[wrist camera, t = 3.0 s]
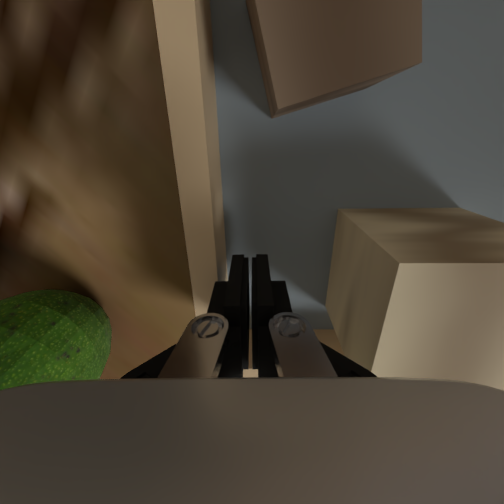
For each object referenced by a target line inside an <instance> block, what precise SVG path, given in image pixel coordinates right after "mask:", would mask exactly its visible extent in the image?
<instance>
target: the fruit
mask: <svg viewBox="0 0 504 504" xmlns="http://www.w3.org/2000/svg"><path fill="white" fill-rule="evenodd" d="M111 331H112V330H111V325H110V321H109V317H108V316H107V314H106V313H105V312H104V310H103V309H102V307H101V306H99V305H98V304H97V303H96V302H94V301H93V300H92V299H90V298H88V297H85V296H83V295H80V294H77V293H75V292H69V291H63V290H50V289H46V290H37V291H30V292H26V293H22V294H19V295H16V296H12V297H9V298H6V299H3V300H0V390H3V389H6V388H11V387H16V386H21V385H26V384H32V383H41V382H49V381H68V380H88V379H99V378H100V376H101V374H102V372H103V369H104V367H105V364H106V361H107V359H108V356H109V354H110V348H111Z"/></svg>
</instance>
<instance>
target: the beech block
mask: <svg viewBox="0 0 504 504" xmlns="http://www.w3.org/2000/svg"><path fill="white" fill-rule="evenodd" d="M325 307H326V309H327V312H328V315H329V317H330V320H331V322H332V325H333V327H334V330H335V332H336V335H337V337H338V340H339V342H340V345H341V347H342V350H343V352H344V355H345V356H346V357H347V358H349V359H351V360H352V361H354V362H356V363H357V364H359V365H361V366H362V367H364V368H366V369H368V370H369V371H371V372H372V373H373V374H375V375H376V376H377V377H407V378H435V379H449V380H458V381H466V382H471V383H476V384H482V385H487V386H490V387H494V388H497V389H501V390H504V223H503V222H500V221H497V220H494V219H491V218H488V217H485V216H483V215H480V214H477V213H474V212H471V211H468V210H465V209H462V208H368V209H338V213H337V221H336V228H335V236H334V243H333V251H332V258H331V266H330V274H329V281H328V289H327V296H326V304H325Z"/></svg>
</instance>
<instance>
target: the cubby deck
mask: <svg viewBox="0 0 504 504" xmlns="http://www.w3.org/2000/svg"><path fill="white" fill-rule="evenodd" d="M153 7H154V14H155V22H156V29H157V36H158V44H159V51H160V58H161V66H162V73H163V80H164V88H165V95H166V102H167V110H168V117H169V124H170V131H171V139H172V146H173V153H174V161H175V168H176V175H177V183H178V190H179V197H180V205H181V212H182V219H183V227H184V234H185V241H186V249H187V256H188V263H189V270H190V278H191V285H192V292H193V300H194V307H195V314H196V317H197V316H199V315H201V314H206V313H207V310H208V306H209V303H210V299H211V295H212V291H213V288H214V284H215V281H228V277H229V272H230V266H231V260H232V255H236V254H244V257H249V297H250V321H249V369H243V377H258V369H252V318H251V285H252V257H256V254H268V261H269V269H270V277H271V281H285V282H286V286H287V290H288V295H289V299H290V304H291V308H292V312H293V313H296V314H299V315H301V316H303V317H304V318H306V319H307V321H308V322H309V323H310V325H311V327H312V329H313V331H314V332H315V334H316V336H317V338H318V340H319V341H320V342H322V343H324V344H325V345H327V346H329V347H330V348H332V349H334V350H335V351H337V352H339V353H340V354H342V355H344V352H343V350H342V347H341V345H340V342H339V340H338V337H337V335H336V332H335V330H334V327H333V325H332V322H331V320H330V317H329V315H328V312H327V309H326V307H325V304H326V296H327V289H328V281H329V274H330V266H331V258H332V251H333V243H334V236H335V228H336V221H337V213H338V209H368V208H462V209H465V210H468V211H471V212H474V213H477V214H480V215H483V216H485V217H488V218H491V219H494V220H497V221H500V222H503V223H504V0H422V63H420V64H418V65H415V66H413V67H411V68H409V69H407V70H405V71H403V72H400V73H398V74H396V75H394V76H392V77H390V78H388V79H385V80H383V81H381V82H379V83H377V84H375V85H372V86H370V87H368V88H366V89H364V90H360V91H357V92H354V93H351V94H348V95H345V96H342V97H339V98H335V99H332V100H329V101H326V102H323V103H320V104H317V105H314V106H310V107H307V108H304V109H301V110H298V111H295V112H292V113H289V114H285V115H282V116H279V117H276V118H273V119H272V118H271V114H270V109H269V105H268V100H267V96H266V91H265V87H264V82H263V78H262V73H261V69H260V64H259V60H258V55H257V51H256V46H255V42H254V37H253V33H252V28H251V24H250V19H249V15H248V10H247V6H246V0H153ZM344 356H345V355H344Z"/></svg>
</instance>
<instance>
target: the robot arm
mask: <svg viewBox="0 0 504 504" xmlns="http://www.w3.org/2000/svg"><path fill="white" fill-rule="evenodd" d="M251 318H252V369H258V377H243V369H249V321H250V297H249V257H244V254H236V255H232V260H231V266H230V272H229V277H228V281H215V284H214V288H213V291H212V295H211V299H210V303H209V306H208V310H207V313H206V314H201V315H199V316H197V317H195V318H194V319H192V320H191V321H190V322H189V324H188V325H187V327H186V329H185V330H184V332H183V334H182V336H181V337H180V339H179V341H178V343H177V344H175V345H173V346H172V347H170V348H168V349H167V350H165V351H163V352H162V353H160V354H158V355H157V356H155V357H153V358H152V359H150V360H148V361H147V362H145V363H143V364H141V365H140V366H138V367H136V368H135V369H133V370H131V371H130V372H128V373H127V374H125V375H124V376H123V377H121V378H120V379H88V380H68V381H49V382H41V383H32V384H26V385H21V386H16V387H11V388H6V389H3V390H0V504H504V390H501V389H497V388H494V387H490V386H487V385H482V384H476V383H471V382H466V381H458V380H449V379H435V378H407V377H377V376H376V375H375V374H373V373H372V372H371V371H369V370H368V369H366V368H364V367H362V366H361V365H359V364H357V363H356V362H354V361H352V360H351V359H349V358H347V357H346V356H344V355H342V354H340V353H339V352H337V351H335V350H334V349H332V348H330V347H329V346H327V345H325V344H324V343H322V342H320V341H319V340H318V338H317V336H316V334H315V332H314V331H313V329H312V327H311V325H310V323H309V322H308V321H307V319H306V318H304V317H303V316H301V315H299V314H296V313H293V312H292V308H291V304H290V299H289V295H288V290H287V286H286V282H285V281H271V277H270V269H269V261H268V254H256V257H252V285H251Z"/></svg>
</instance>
